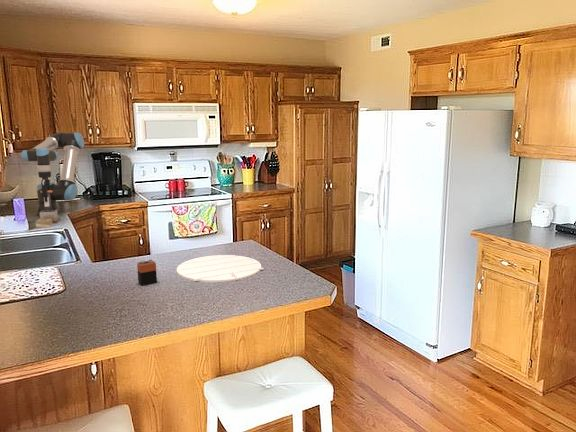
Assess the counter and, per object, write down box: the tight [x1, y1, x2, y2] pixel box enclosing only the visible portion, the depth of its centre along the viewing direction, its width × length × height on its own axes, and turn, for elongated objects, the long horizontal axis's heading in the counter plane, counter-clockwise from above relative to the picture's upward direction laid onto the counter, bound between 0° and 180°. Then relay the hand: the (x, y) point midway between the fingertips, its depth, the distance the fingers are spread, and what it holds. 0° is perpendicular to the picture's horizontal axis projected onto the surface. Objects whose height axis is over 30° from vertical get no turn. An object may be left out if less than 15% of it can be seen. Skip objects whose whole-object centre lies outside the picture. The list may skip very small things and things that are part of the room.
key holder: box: [35, 218, 53, 229], centre depth 311 cm, size 8×8×4 cm
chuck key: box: [40, 190, 53, 211], centre depth 322 cm, size 4×8×16 cm, turn 104°
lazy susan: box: [176, 254, 265, 283], centre depth 222 cm, size 40×39×3 cm
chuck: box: [39, 210, 62, 224], centre depth 324 cm, size 12×12×8 cm
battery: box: [136, 259, 158, 287], centre depth 201 cm, size 4×7×10 cm, turn 126°
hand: (47, 205), depth 322 cm, fingers closed on chuck key, 4 cm apart
